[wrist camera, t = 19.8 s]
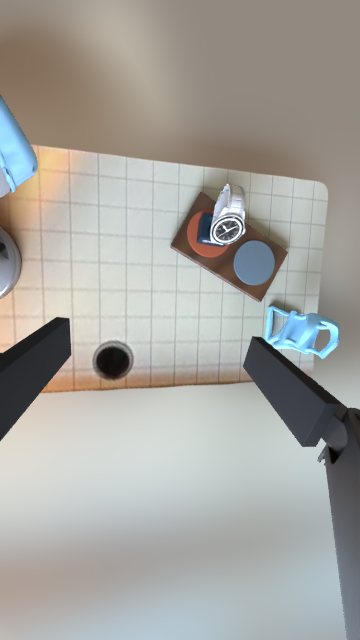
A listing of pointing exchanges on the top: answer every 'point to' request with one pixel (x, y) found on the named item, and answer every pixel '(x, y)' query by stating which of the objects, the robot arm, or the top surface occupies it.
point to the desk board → (227, 252)
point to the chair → (301, 332)
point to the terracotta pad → (199, 248)
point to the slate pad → (254, 262)
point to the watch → (223, 219)
